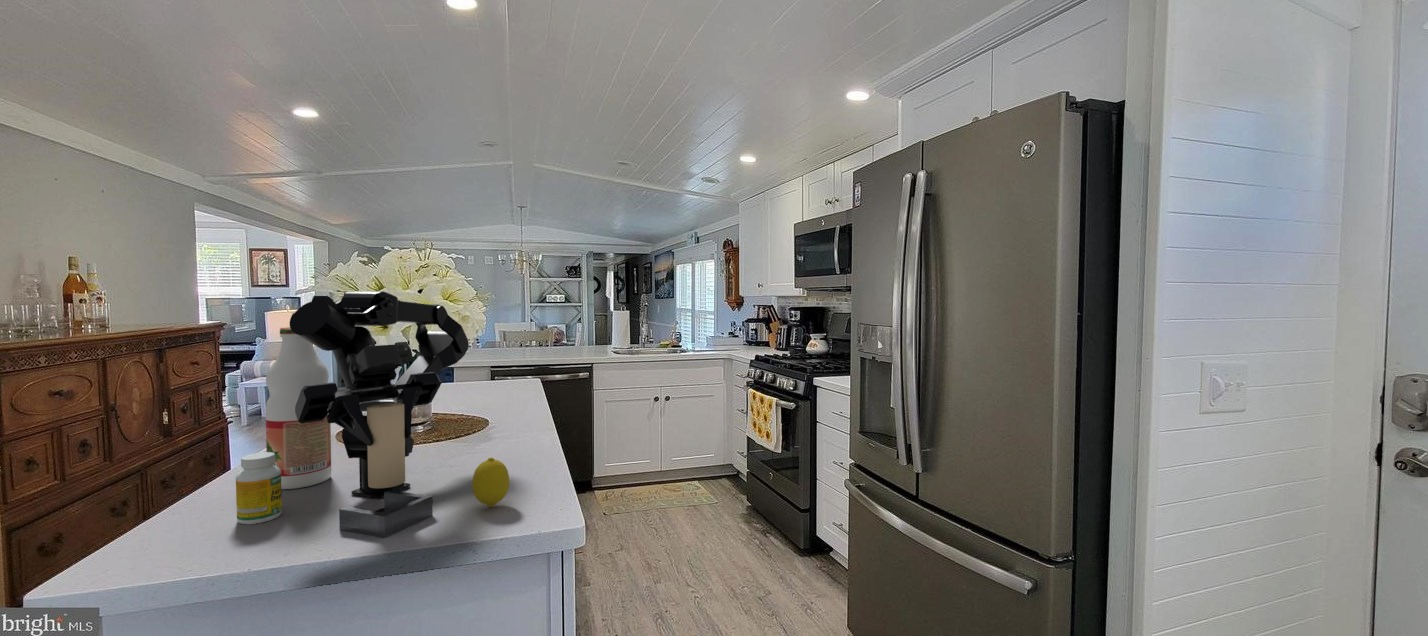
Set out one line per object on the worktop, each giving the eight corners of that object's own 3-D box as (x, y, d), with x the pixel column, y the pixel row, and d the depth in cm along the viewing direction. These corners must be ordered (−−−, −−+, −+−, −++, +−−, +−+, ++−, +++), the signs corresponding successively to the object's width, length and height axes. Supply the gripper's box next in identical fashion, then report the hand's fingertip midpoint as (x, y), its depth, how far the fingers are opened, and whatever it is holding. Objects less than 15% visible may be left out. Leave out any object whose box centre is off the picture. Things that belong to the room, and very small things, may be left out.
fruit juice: (315, 489, 98) (311, 328, 97) (254, 491, 97) (250, 328, 96) (341, 472, 108) (338, 325, 107) (286, 474, 106) (283, 326, 105)
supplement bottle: (243, 514, 87) (241, 453, 86) (286, 509, 89) (284, 449, 89) (231, 527, 82) (229, 462, 82) (277, 521, 84) (275, 458, 84)
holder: (339, 529, 82) (339, 509, 81) (389, 508, 90) (389, 489, 90) (384, 537, 79) (384, 516, 79) (432, 515, 87) (432, 496, 87)
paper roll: (361, 484, 83) (359, 407, 83) (392, 475, 87) (391, 401, 87) (380, 490, 81) (379, 410, 80) (412, 480, 85) (411, 404, 85)
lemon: (496, 515, 87) (496, 463, 87) (465, 512, 88) (464, 461, 88) (516, 502, 93) (515, 454, 92) (486, 499, 94) (485, 452, 93)
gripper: (299, 328, 78) (330, 418, 72) (435, 322, 93) (470, 397, 87) (283, 379, 83) (310, 467, 77) (413, 366, 98) (446, 439, 92)
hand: (390, 440), depth 83 cm, fingers closed on paper roll, 5 cm apart
